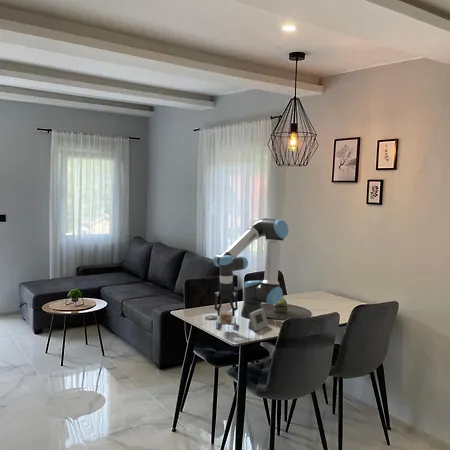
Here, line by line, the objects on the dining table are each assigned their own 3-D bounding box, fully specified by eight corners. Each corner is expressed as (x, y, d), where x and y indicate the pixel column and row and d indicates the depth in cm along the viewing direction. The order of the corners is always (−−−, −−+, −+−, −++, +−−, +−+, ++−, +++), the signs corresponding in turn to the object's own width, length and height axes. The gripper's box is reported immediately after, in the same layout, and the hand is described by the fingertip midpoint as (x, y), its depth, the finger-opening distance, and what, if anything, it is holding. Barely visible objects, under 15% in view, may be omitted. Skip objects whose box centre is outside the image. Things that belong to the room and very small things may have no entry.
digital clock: (254, 332, 266) (255, 314, 265) (243, 329, 272) (243, 311, 271) (272, 327, 278) (272, 309, 277) (260, 324, 284) (260, 307, 283)
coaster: (219, 316, 299) (219, 315, 299) (218, 320, 290) (218, 319, 290) (205, 316, 299) (205, 315, 299) (204, 319, 291) (204, 318, 290)
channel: (235, 323, 283) (236, 317, 283) (235, 329, 271) (235, 322, 271) (217, 323, 284) (217, 316, 283) (216, 328, 272) (216, 322, 271)
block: (231, 320, 270) (231, 312, 270) (231, 323, 264) (231, 314, 264) (221, 320, 270) (221, 312, 270) (220, 323, 264) (220, 314, 264)
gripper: (242, 281, 268) (242, 320, 270) (210, 280, 269) (210, 319, 271) (242, 284, 260) (242, 323, 262) (209, 283, 261) (209, 323, 263)
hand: (226, 321), depth 266 cm, fingers closed on block, 6 cm apart
